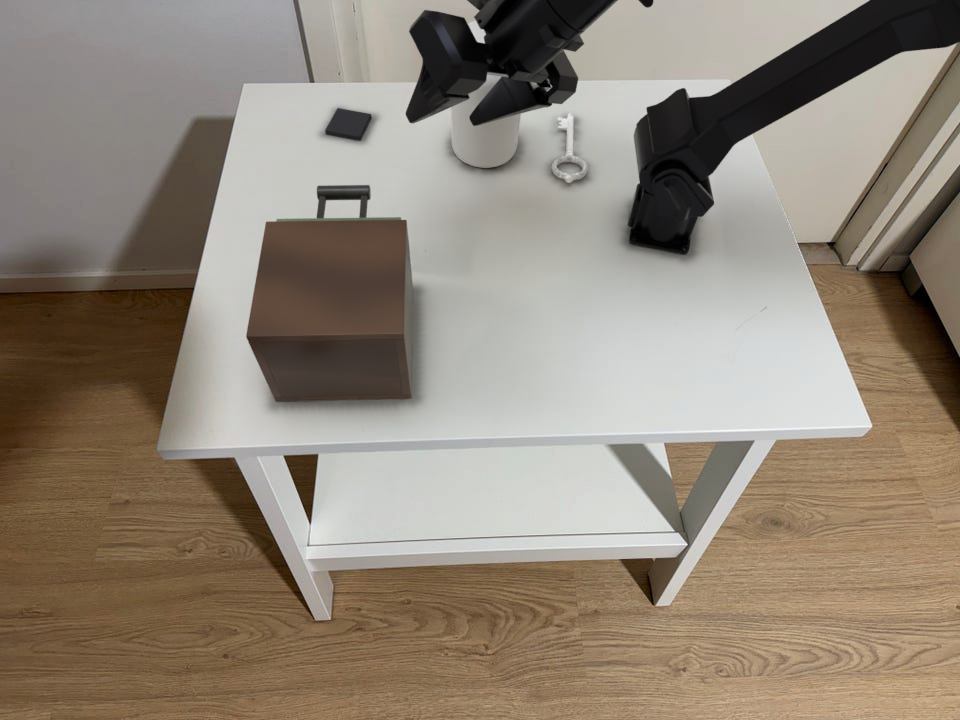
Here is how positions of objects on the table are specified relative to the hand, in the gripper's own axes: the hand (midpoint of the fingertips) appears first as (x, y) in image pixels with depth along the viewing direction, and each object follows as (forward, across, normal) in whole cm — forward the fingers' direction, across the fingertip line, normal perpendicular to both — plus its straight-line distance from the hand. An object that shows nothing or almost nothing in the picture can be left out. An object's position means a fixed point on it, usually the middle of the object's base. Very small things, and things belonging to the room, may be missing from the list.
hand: (441, 120), depth 67 cm
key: (+1, -23, +3) cm, 23 cm away
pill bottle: (+8, -17, -2) cm, 19 cm away
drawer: (+15, +7, +11) cm, 20 cm away
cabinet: (+16, +9, +14) cm, 23 cm away
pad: (+18, -9, -13) cm, 24 cm away
